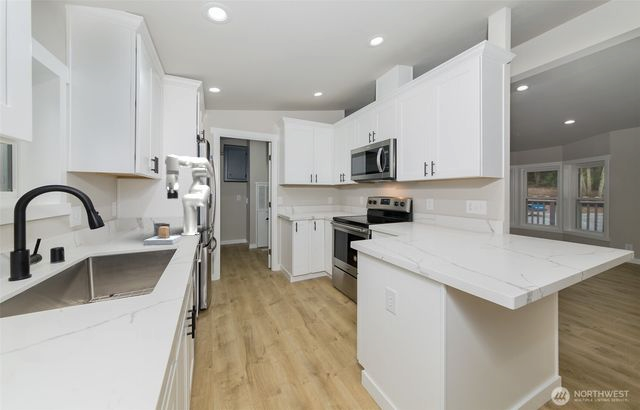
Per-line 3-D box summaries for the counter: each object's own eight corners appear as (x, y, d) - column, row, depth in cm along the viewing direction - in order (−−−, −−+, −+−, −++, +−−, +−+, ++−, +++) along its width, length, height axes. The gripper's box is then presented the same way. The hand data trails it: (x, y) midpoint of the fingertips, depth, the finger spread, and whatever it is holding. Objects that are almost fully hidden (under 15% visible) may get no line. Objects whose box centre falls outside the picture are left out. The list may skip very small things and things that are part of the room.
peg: (161, 241, 165) (161, 226, 165) (168, 241, 166) (168, 226, 166) (158, 243, 161) (158, 227, 161) (166, 243, 162) (166, 227, 162)
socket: (155, 240, 170) (155, 236, 170) (181, 240, 173) (181, 235, 173) (144, 245, 154) (143, 240, 154) (172, 244, 157) (172, 239, 157)
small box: (170, 238, 179) (170, 223, 179) (160, 239, 174) (160, 224, 174) (163, 236, 185) (163, 222, 185) (153, 238, 180) (153, 223, 180)
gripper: (171, 174, 180) (171, 198, 181) (161, 172, 163) (161, 198, 164) (182, 174, 182) (183, 198, 182) (174, 172, 165) (174, 198, 165)
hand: (172, 198), depth 173 cm, fingers open, 9 cm apart
